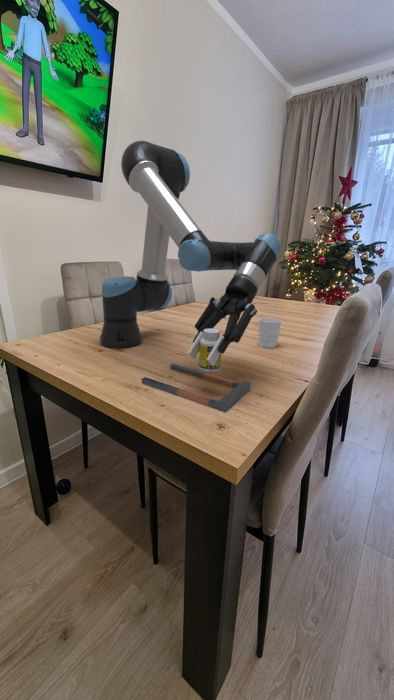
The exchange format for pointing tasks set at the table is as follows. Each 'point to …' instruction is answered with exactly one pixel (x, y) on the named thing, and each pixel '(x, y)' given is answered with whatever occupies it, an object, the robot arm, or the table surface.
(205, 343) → the supplement bottle
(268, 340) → the white cup
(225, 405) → the grey brown flat u-shape
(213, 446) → the table surface
